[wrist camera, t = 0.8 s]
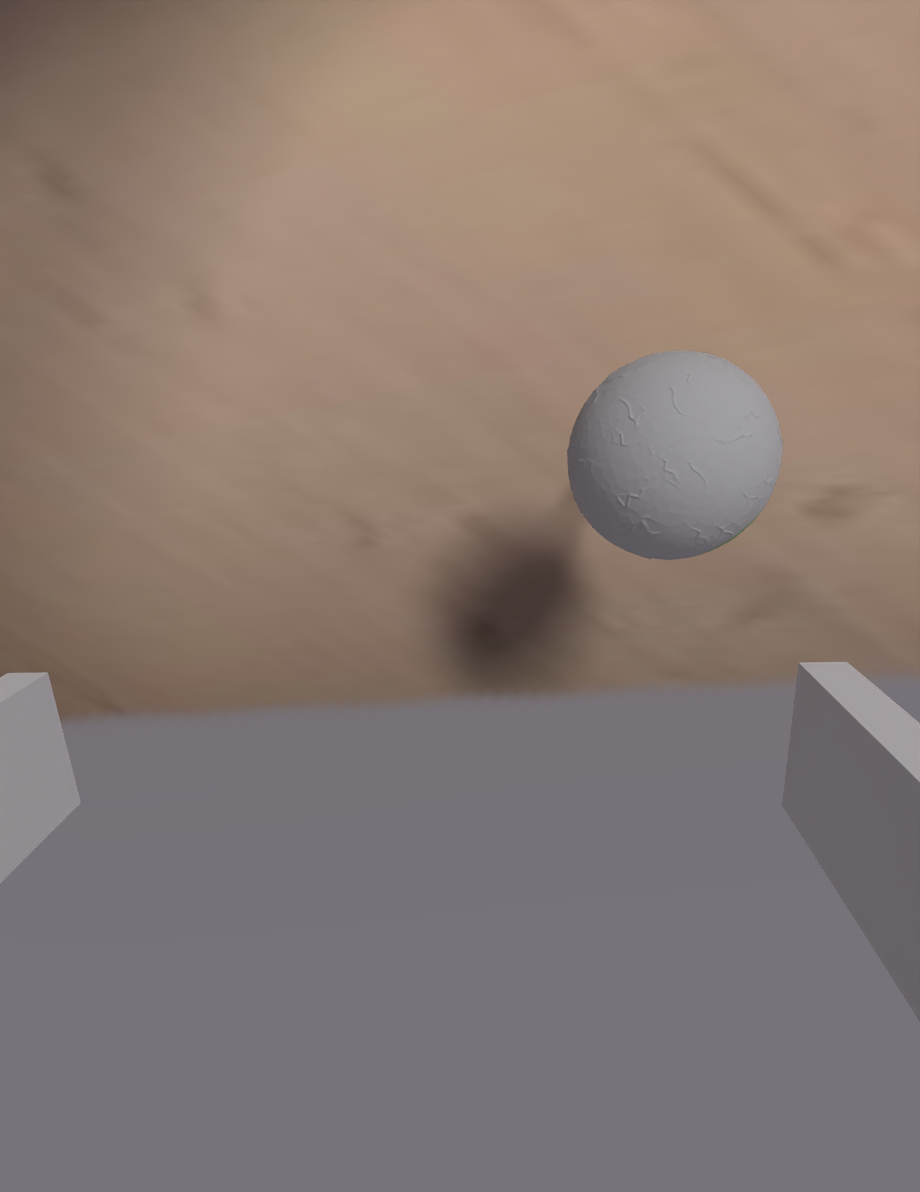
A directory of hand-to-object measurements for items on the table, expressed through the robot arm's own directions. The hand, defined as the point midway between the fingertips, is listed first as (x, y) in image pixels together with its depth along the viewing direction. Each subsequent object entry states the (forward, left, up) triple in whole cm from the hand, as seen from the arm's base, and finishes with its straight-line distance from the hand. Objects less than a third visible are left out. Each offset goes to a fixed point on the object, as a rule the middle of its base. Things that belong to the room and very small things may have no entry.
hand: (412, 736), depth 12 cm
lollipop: (-1, +8, -26) cm, 27 cm away
